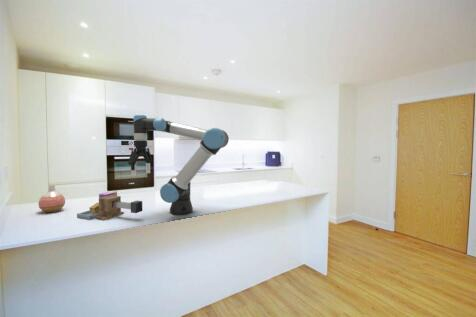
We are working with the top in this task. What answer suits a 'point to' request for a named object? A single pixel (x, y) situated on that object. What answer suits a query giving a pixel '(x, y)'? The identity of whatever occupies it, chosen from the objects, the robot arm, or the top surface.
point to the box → (108, 194)
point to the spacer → (94, 209)
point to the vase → (51, 200)
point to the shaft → (129, 205)
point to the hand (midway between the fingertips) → (141, 174)
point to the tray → (87, 215)
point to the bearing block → (108, 207)
